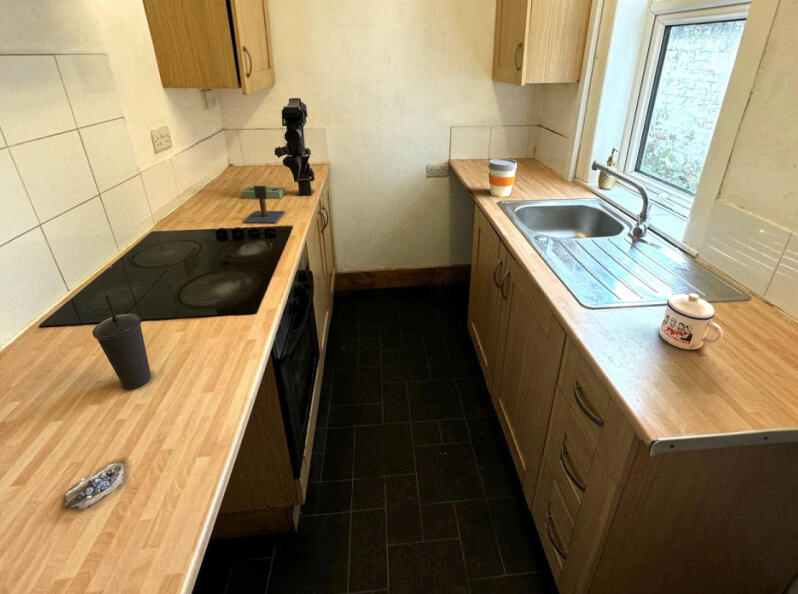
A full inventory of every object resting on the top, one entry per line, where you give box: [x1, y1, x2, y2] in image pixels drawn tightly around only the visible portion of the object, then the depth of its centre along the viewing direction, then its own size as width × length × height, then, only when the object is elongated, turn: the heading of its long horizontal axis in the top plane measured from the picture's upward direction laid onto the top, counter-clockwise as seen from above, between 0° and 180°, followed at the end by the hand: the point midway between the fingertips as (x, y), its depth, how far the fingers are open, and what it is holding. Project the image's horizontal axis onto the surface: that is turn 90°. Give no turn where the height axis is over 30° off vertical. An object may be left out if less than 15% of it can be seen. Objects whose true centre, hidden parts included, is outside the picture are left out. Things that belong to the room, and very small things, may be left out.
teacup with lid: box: [659, 293, 724, 350], centre depth 93 cm, size 12×9×12 cm
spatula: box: [253, 184, 269, 217], centre depth 163 cm, size 2×4×12 cm, turn 89°
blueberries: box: [63, 462, 125, 511], centre depth 63 cm, size 7×8×2 cm
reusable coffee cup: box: [488, 158, 518, 197], centre depth 191 cm, size 12×13×15 cm
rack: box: [241, 186, 286, 199], centre depth 190 cm, size 7×17×3 cm, turn 89°
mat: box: [243, 210, 285, 224], centre depth 165 cm, size 12×12×1 cm
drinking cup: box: [91, 295, 152, 390], centre depth 79 cm, size 8×8×20 cm
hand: (299, 176), depth 173 cm, fingers open, 9 cm apart
